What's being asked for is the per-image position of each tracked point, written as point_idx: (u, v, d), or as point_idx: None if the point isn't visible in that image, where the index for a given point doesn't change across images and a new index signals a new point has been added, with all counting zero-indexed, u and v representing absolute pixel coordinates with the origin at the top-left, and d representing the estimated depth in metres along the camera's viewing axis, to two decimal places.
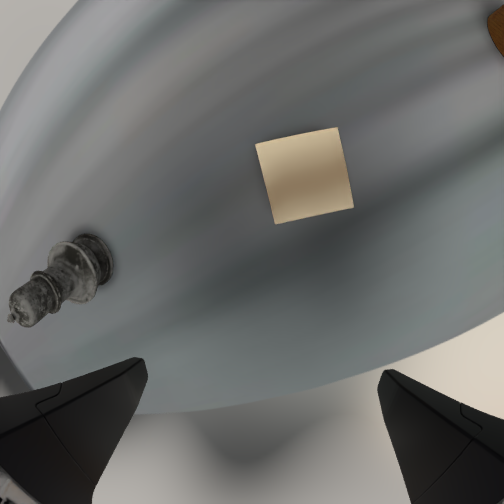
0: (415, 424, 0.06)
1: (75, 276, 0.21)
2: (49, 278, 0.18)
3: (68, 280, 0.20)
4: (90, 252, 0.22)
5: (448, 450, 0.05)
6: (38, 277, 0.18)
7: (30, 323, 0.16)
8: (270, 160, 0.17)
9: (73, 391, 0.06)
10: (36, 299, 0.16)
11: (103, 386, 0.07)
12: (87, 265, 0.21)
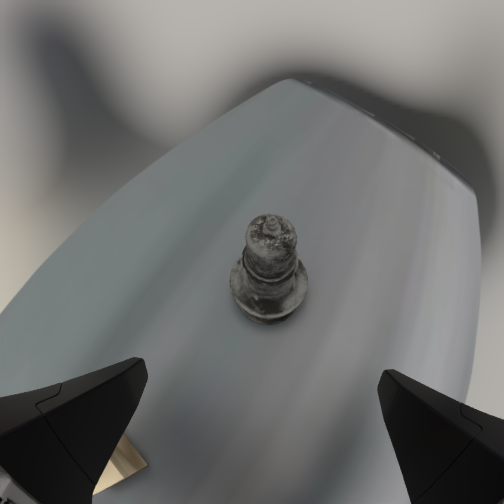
0: (415, 424, 0.06)
1: (251, 288, 0.21)
2: (264, 283, 0.18)
3: (253, 283, 0.20)
4: None
5: (448, 450, 0.05)
6: (279, 276, 0.18)
7: (249, 228, 0.16)
8: (108, 468, 0.14)
9: (73, 391, 0.06)
10: (256, 260, 0.16)
11: (103, 386, 0.07)
12: (246, 305, 0.21)
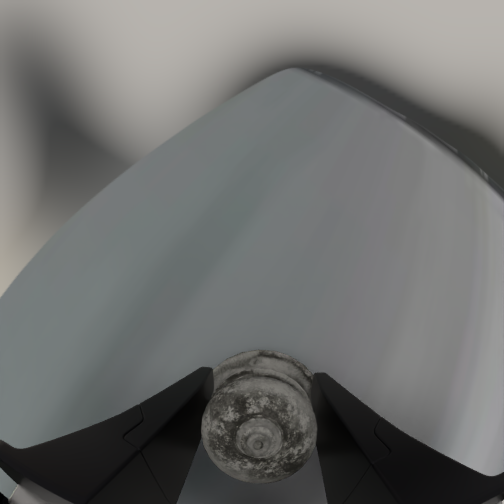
0: (330, 434, 0.07)
1: None
2: None
3: None
4: None
5: (357, 469, 0.05)
6: None
7: (205, 422, 0.06)
8: None
9: (159, 414, 0.06)
10: None
11: (187, 403, 0.07)
12: None
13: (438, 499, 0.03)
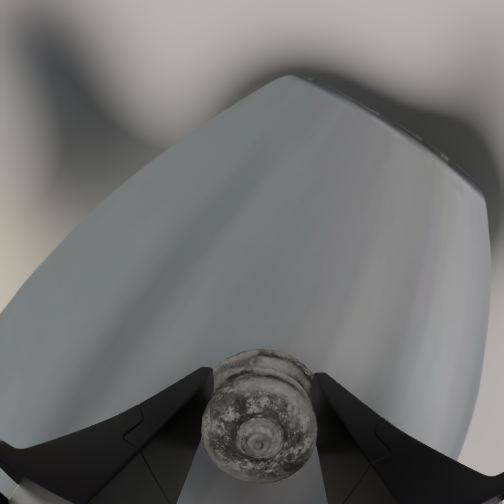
0: (331, 434, 0.07)
1: None
2: None
3: None
4: None
5: (356, 469, 0.05)
6: None
7: (206, 422, 0.06)
8: None
9: (159, 414, 0.06)
10: None
11: (188, 403, 0.07)
12: None
13: (438, 498, 0.03)
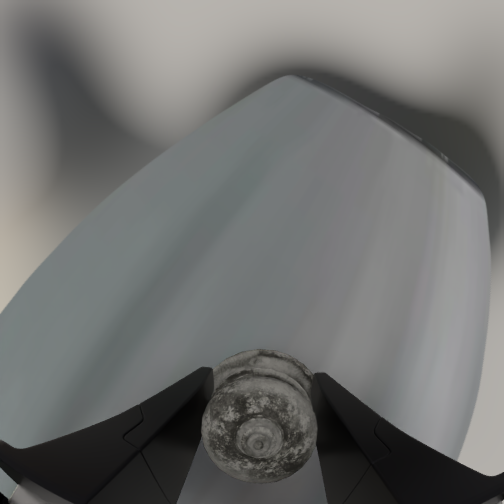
0: (331, 434, 0.07)
1: None
2: None
3: None
4: None
5: (356, 469, 0.05)
6: None
7: (206, 422, 0.06)
8: None
9: (159, 414, 0.06)
10: None
11: (188, 403, 0.07)
12: None
13: (438, 499, 0.03)
